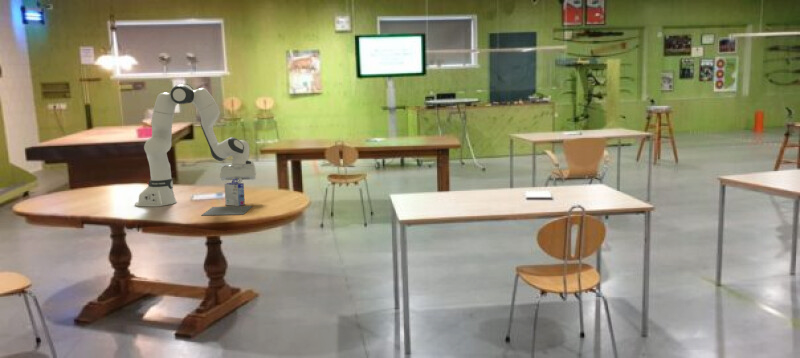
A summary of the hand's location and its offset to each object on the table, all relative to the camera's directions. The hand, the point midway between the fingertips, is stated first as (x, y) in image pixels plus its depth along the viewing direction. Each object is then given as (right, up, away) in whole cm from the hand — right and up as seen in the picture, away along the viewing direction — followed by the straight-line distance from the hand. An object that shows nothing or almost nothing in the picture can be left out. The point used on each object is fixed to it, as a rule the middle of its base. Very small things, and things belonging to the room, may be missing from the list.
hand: (236, 185), depth 363 cm
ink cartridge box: (0, -11, -3) cm, 12 cm away
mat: (0, -14, -19) cm, 23 cm away
